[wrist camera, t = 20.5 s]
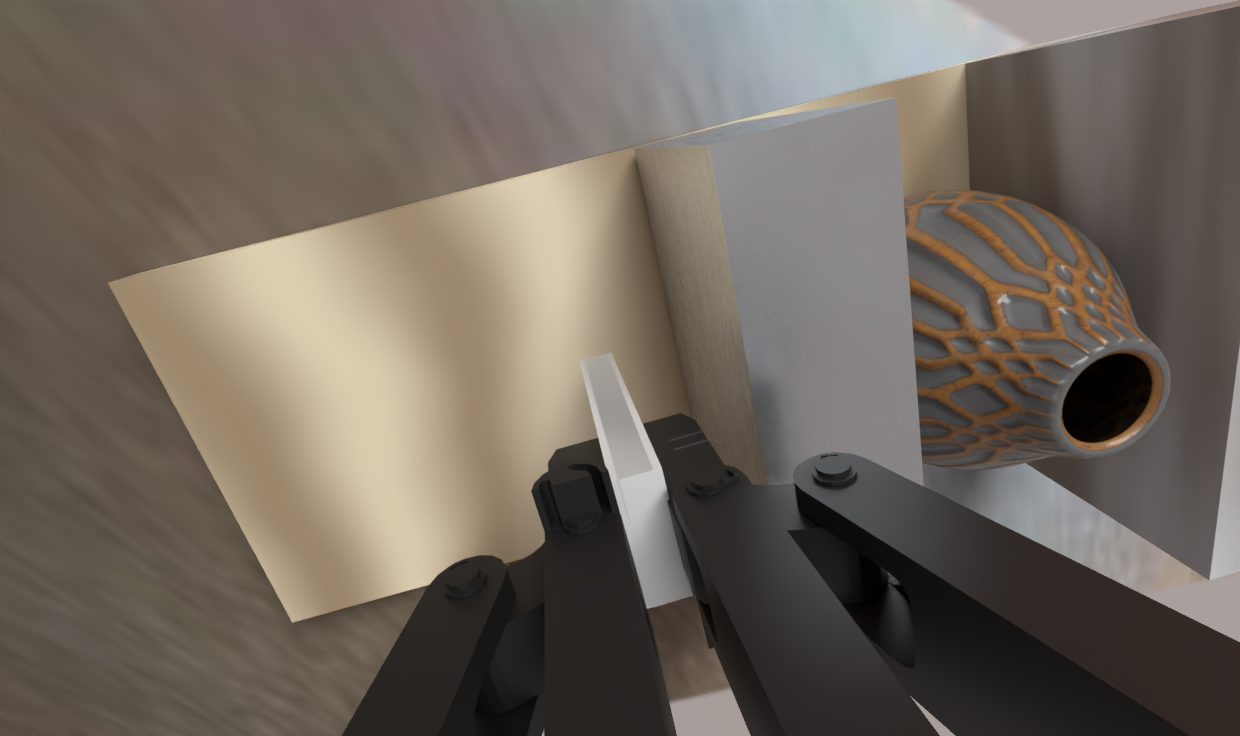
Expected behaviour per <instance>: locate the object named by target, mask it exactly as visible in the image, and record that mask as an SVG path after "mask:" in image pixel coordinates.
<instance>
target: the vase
mask: <svg viewBox="0 0 1240 736" xmlns="http://www.w3.org/2000/svg"><path fill="white" fill-rule="evenodd" d="M903 200H904V214H905V228H906V242H907V256H908V270H909V284H910V298H911V312H912V326H913V341H914V355H915V369H916V383H917V397H918V411H919V425H920V439H921V453H922V463H926V464H930V465H935V466H939V467H945V468H953V469H964V470H981V469H995V468H1001V467H1007V466H1013V465H1018V464H1022V463H1026V462H1031V461H1035V460H1039V459H1043V458H1047V457H1051V456H1061V457H1070V458H1081V459H1095V458H1102V457H1106V456H1110V455H1113V454H1116V453H1118V452H1120V451H1122V450H1124V449H1126V448H1128V447H1129V446H1131V445H1132V444H1134V443H1135V442H1136V441H1138V440H1139V439H1140V438H1141V437H1143V436H1144V435H1145V434H1146V433H1147V432H1148V431H1149V429H1150V428H1151V427H1152V426H1153V425H1154V423H1155V422H1156V421H1157V419H1158V418H1159V416H1160V414H1161V413H1162V411H1163V409H1164V407H1165V404H1166V402H1167V399H1168V396H1169V391H1170V385H1171V375H1170V369H1169V365H1168V362H1167V360H1166V358H1165V356H1164V355H1163V353H1162V352H1161V351H1160V350H1159V348H1158V347H1157V346H1156V345H1155V344H1154V343H1153V342H1152V341H1151V340H1150V339H1149V338H1148V337H1147V336H1146V335H1145V334H1144V333H1143V332H1142V331H1141V330H1140V329H1139V328H1138V326H1137V323H1136V319H1135V316H1134V313H1133V310H1132V307H1131V304H1130V302H1129V299H1128V296H1127V294H1126V291H1125V289H1124V287H1123V284H1122V282H1121V280H1120V278H1119V276H1118V274H1117V272H1116V270H1115V269H1114V267H1113V266H1112V264H1111V263H1110V261H1109V260H1108V259H1107V257H1106V256H1105V255H1104V253H1103V252H1102V251H1101V250H1100V249H1099V248H1098V247H1097V246H1096V245H1095V244H1094V243H1093V242H1092V241H1091V240H1090V239H1089V238H1088V237H1087V236H1086V235H1084V234H1083V233H1082V232H1080V231H1079V230H1078V229H1076V228H1075V227H1073V226H1072V225H1071V224H1069V223H1068V222H1066V221H1064V220H1063V219H1061V218H1059V217H1058V216H1056V215H1054V214H1053V213H1051V212H1049V211H1047V210H1044V209H1042V208H1040V207H1038V206H1036V205H1034V204H1032V203H1029V202H1026V201H1023V200H1020V199H1017V198H1014V197H1010V196H1007V195H1002V194H996V193H990V192H983V191H973V190H938V191H927V192H920V193H915V194H911V195H908V196H904V197H903Z"/></svg>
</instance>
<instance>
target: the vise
mask: <svg viewBox="0 0 1240 736" xmlns="http://www.w3.org/2000/svg"><path fill="white" fill-rule="evenodd" d="M894 97H896V101H897V115H898V129H899V144H900V158H901V172H902V186H903V197H904V196H908V195H911V194H915V193H920V192H927V191H938V190H973V191H983V192H990V193H996V194H1002V195H1007V196H1010V197H1014V198H1017V199H1020V200H1023V201H1026V202H1029V203H1032V204H1034V205H1036V206H1038V207H1040V208H1042V209H1044V210H1047V211H1049V212H1051V213H1053V214H1054V215H1056V216H1058V217H1059V218H1061V219H1063V220H1064V221H1066V222H1068V223H1069V224H1071V225H1072V226H1073V227H1075V228H1076V229H1078V230H1079V231H1080V232H1082V233H1083V234H1084V235H1086V236H1087V237H1088V238H1089V239H1090V240H1091V241H1092V242H1093V243H1094V244H1095V245H1096V246H1097V247H1098V248H1099V249H1100V250H1101V251H1102V252H1103V253H1104V255H1105V256H1106V257H1107V259H1108V260H1109V261H1110V263H1111V264H1112V266H1113V267H1114V269H1115V270H1116V272H1117V274H1118V276H1119V278H1120V280H1121V282H1122V284H1123V287H1124V289H1125V291H1126V294H1127V296H1128V299H1129V302H1130V304H1131V307H1132V310H1133V313H1134V316H1135V319H1136V323H1137V326H1138V328H1139V329H1140V330H1141V331H1142V332H1143V333H1144V334H1145V335H1146V336H1147V337H1148V338H1149V339H1150V340H1151V341H1152V342H1153V343H1154V344H1155V345H1156V346H1157V347H1158V348H1159V350H1160V351H1161V352H1162V353H1163V355H1164V356H1165V358H1166V360H1167V362H1168V365H1169V369H1170V375H1171V385H1170V391H1169V396H1168V399H1167V402H1166V404H1165V407H1164V409H1163V411H1162V413H1161V414H1160V416H1159V418H1158V419H1157V421H1156V422H1155V423H1154V425H1153V426H1152V427H1151V428H1150V429H1149V431H1148V432H1147V433H1146V434H1145V435H1144V436H1143V437H1141V438H1140V439H1139V440H1138V441H1136V442H1135V443H1134V444H1132V445H1131V446H1129V447H1128V448H1126V449H1124V450H1122V451H1120V452H1118V453H1116V454H1113V455H1110V456H1106V457H1102V458H1095V459H1081V458H1070V457H1061V456H1051V457H1047V458H1043V459H1039V460H1035V461H1031V462H1026V463H1027V464H1028V465H1030V466H1031V467H1033V468H1034V469H1036V470H1037V471H1039V472H1041V473H1042V474H1044V475H1045V476H1047V477H1048V478H1050V479H1052V480H1053V481H1055V482H1056V483H1058V484H1059V485H1061V486H1063V487H1064V488H1066V489H1067V490H1069V491H1070V492H1072V493H1074V494H1075V495H1077V496H1078V497H1080V498H1081V499H1083V500H1084V501H1086V502H1088V503H1089V504H1091V505H1092V506H1094V507H1095V508H1097V509H1099V510H1100V511H1102V512H1103V513H1105V514H1106V515H1108V516H1110V517H1111V518H1113V519H1114V520H1116V521H1117V522H1119V523H1121V524H1122V525H1124V526H1125V527H1127V528H1128V529H1130V530H1131V531H1133V532H1135V533H1136V534H1138V535H1139V536H1141V537H1142V538H1144V539H1146V540H1147V541H1149V542H1150V543H1152V544H1153V545H1155V546H1157V547H1158V548H1160V549H1161V550H1163V551H1164V552H1166V553H1168V554H1169V555H1171V556H1172V557H1174V558H1175V559H1177V560H1178V561H1180V562H1182V563H1183V564H1185V565H1186V566H1188V567H1189V568H1191V569H1193V570H1194V571H1196V572H1197V573H1199V574H1200V575H1202V576H1204V577H1205V578H1207V579H1208V580H1212V579H1216V578H1219V577H1223V576H1226V575H1230V574H1233V573H1236V572H1240V0H1238V1H1233V2H1229V3H1224V4H1220V5H1215V6H1210V7H1206V8H1201V9H1197V10H1193V11H1188V12H1183V13H1179V14H1174V15H1169V16H1165V17H1160V18H1156V19H1151V20H1146V21H1142V22H1138V23H1133V24H1128V25H1124V26H1119V27H1115V28H1110V29H1105V30H1101V31H1096V32H1092V33H1087V34H1082V35H1081V34H1080V35H1075V36H1071V37H1066V38H1062V39H1057V40H1053V41H1048V42H1043V43H1039V44H1035V45H1031V46H1027V47H1023V48H1020V49H1016V50H1012V51H1008V52H1004V53H1000V54H996V55H992V56H988V57H984V58H980V59H976V60H972V61H969V62H965V63H961V64H957V65H953V66H949V67H945V68H941V69H937V70H933V71H929V72H925V73H922V74H918V75H914V76H910V77H906V78H902V79H898V80H894V81H890V82H886V83H882V84H878V85H875V86H871V87H867V88H863V89H859V90H855V91H851V92H847V93H843V94H839V95H835V96H831V97H828V98H824V99H820V100H816V101H812V102H808V103H804V104H800V105H796V106H792V107H788V108H784V109H780V110H777V111H773V112H769V113H765V114H761V115H757V116H753V117H749V118H745V119H741V120H737V121H733V122H730V123H726V124H722V125H718V126H714V127H710V128H706V129H702V130H698V131H694V132H690V133H686V134H683V135H679V136H675V137H671V138H667V139H663V140H659V141H655V142H651V143H647V144H643V145H639V146H636V147H632V148H628V149H624V150H620V151H616V152H612V153H608V154H604V155H600V156H596V157H592V158H588V159H585V160H581V161H577V162H573V163H569V164H565V165H561V166H557V167H553V168H549V169H545V170H541V171H538V172H534V173H530V174H526V175H522V176H518V177H514V178H510V179H506V180H502V181H498V182H494V183H491V184H487V185H483V186H479V187H475V188H471V189H467V190H463V191H459V192H455V193H451V194H447V195H444V196H440V197H436V198H432V199H428V200H424V201H420V202H416V203H412V204H408V205H404V206H400V207H396V208H393V209H389V210H385V211H381V212H377V213H373V214H369V215H365V216H361V217H357V218H353V219H349V220H346V221H342V222H338V223H334V224H330V225H326V226H322V227H318V228H314V229H310V230H306V231H302V232H299V233H295V234H291V235H287V236H283V237H279V238H275V239H271V240H267V241H263V242H259V243H255V244H252V245H248V246H244V247H240V248H236V249H232V250H228V251H224V252H220V253H216V254H212V255H208V256H204V257H201V258H197V259H193V260H189V261H185V262H181V263H177V264H173V265H169V266H165V267H161V268H157V269H154V270H150V271H146V272H142V273H138V274H135V275H132V276H128V277H125V278H122V279H118V280H115V281H112V282H108V284H109V286H110V288H111V289H112V291H113V293H114V295H115V297H116V299H117V300H118V302H119V304H120V306H121V308H122V310H123V311H124V313H125V315H126V317H127V319H128V321H129V323H130V324H131V326H132V328H133V330H134V332H135V334H136V335H137V337H138V339H139V341H140V343H141V345H142V346H143V348H144V350H145V352H146V354H147V356H148V358H149V359H150V361H151V363H152V365H153V367H154V369H155V370H156V372H157V374H158V376H159V378H160V380H161V381H162V383H163V385H164V387H165V389H166V391H167V393H168V394H169V396H170V398H171V400H172V402H173V404H174V405H175V407H176V409H177V411H178V413H179V415H180V416H181V418H182V420H183V422H184V424H185V426H186V428H187V429H188V431H189V433H190V435H191V437H192V439H193V440H194V442H195V444H196V446H197V448H198V450H199V451H200V453H201V455H202V457H203V459H204V461H205V462H206V464H207V466H208V468H209V470H210V472H211V474H212V475H213V477H214V479H215V481H216V483H217V485H218V486H219V488H220V490H221V492H222V494H223V496H224V497H225V499H226V501H227V503H228V505H229V507H230V509H231V510H232V512H233V514H234V516H235V518H236V520H237V521H238V523H239V525H240V527H241V529H242V531H243V532H244V534H245V536H246V538H247V540H248V542H249V544H250V545H251V547H252V549H253V551H254V553H255V555H256V556H257V558H258V560H259V562H260V564H261V566H262V567H263V569H264V571H265V573H266V575H267V577H268V579H269V580H270V582H271V584H272V586H273V588H274V590H275V591H276V593H277V595H278V597H279V599H280V601H281V602H282V604H283V606H284V608H285V610H286V612H287V614H288V615H289V617H290V619H291V621H292V623H293V622H296V621H300V620H303V619H307V618H311V617H314V616H318V615H322V614H325V613H329V612H332V611H336V610H340V609H343V608H347V607H350V606H354V605H358V604H361V603H365V602H368V601H372V600H376V599H379V598H383V597H386V596H390V595H394V594H397V593H401V592H404V591H408V590H412V589H415V588H419V587H422V586H426V585H430V584H431V582H432V581H433V580H434V579H435V577H436V576H437V575H438V574H440V573H441V572H442V571H444V570H445V569H446V568H448V567H449V566H450V565H452V564H454V563H456V562H459V561H460V560H463V559H465V558H470V557H474V556H478V555H493V556H495V557H497V558H499V559H501V560H502V561H503V563H504V564H505V563H509V562H513V561H516V560H520V559H523V558H526V557H527V556H529V555H531V554H532V553H533V552H535V551H536V550H537V549H538V548H539V547H541V545H542V544H543V543H544V542H545V532H544V529H543V526H542V523H541V520H540V517H539V514H538V511H537V508H536V505H535V502H534V499H533V496H532V493H531V490H532V488H533V485H534V483H535V482H536V481H537V480H538V479H539V478H540V477H541V476H542V475H543V474H544V473H546V472H548V462H549V460H550V458H551V457H552V455H553V454H554V452H555V451H556V449H560V448H563V447H567V446H570V445H574V444H577V443H581V442H585V441H588V440H592V439H595V438H598V435H597V430H596V426H595V422H594V418H593V414H592V410H591V406H590V402H589V398H588V394H587V390H586V386H585V382H584V378H583V374H582V370H581V366H580V362H579V361H582V360H585V359H589V358H593V357H596V356H600V355H604V354H608V353H612V356H613V358H614V360H615V362H616V365H617V367H618V369H619V372H620V374H621V376H622V378H623V381H624V383H625V385H626V387H627V390H628V392H629V394H630V397H631V399H632V401H633V403H634V406H635V408H636V410H637V413H638V415H639V417H640V419H641V422H642V424H643V423H647V422H650V421H654V420H658V419H661V418H665V417H668V416H672V415H675V414H679V413H681V414H684V415H686V416H688V417H690V418H692V414H691V410H690V405H689V401H688V396H687V391H686V387H685V382H684V377H683V373H682V368H681V364H680V359H679V354H678V350H677V345H676V340H675V336H674V331H673V327H672V322H671V317H670V313H669V308H668V303H667V299H666V294H665V290H664V285H663V280H662V276H661V271H660V266H659V262H658V257H657V253H656V248H655V243H654V239H653V234H652V229H651V225H650V220H649V215H648V211H647V206H646V202H645V197H644V192H643V188H642V183H641V178H640V174H639V169H638V165H637V160H636V155H635V151H634V149H635V148H639V147H642V146H646V145H650V144H654V143H658V142H662V141H666V140H670V139H674V138H678V137H682V136H686V135H689V134H693V133H697V132H701V131H705V130H709V129H713V128H717V127H721V126H725V125H729V124H733V123H736V122H741V121H748V120H754V119H760V118H767V117H773V116H779V115H786V114H792V113H798V112H805V111H811V110H817V109H824V108H830V107H836V106H843V105H849V104H856V103H862V102H868V101H875V100H881V99H887V98H894Z"/></svg>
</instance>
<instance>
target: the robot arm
mask: <svg viewBox="0 0 1240 736" xmlns="http://www.w3.org/2000/svg"><path fill="white" fill-rule="evenodd" d="M579 362H580V366H581V370H582V374H583V378H584V382H585V386H586V390H587V394H588V398H589V402H590V406H591V410H592V414H593V418H594V422H595V426H596V430H597V435H598V438H595V439H592V440H588V441H585V442H581V443H577V444H574V445H570V446H567V447H563V448H560V449H556V451H555V452H554V454H553V455H552V457H551V458H550V460H549V462H548V472H546V473H544V474H543V475H542V476H541V477H540V478H539V479H538V480H537V481H536V482H535V483H534V485H533V488H532V490H531V493H532V496H533V499H534V502H535V505H536V508H537V511H538V514H539V517H540V520H541V523H542V526H543V529H544V532H545V542H544V543H543V544H542V545H541V547H539V548H538V549H537V550H536V551H535V552H533V553H532V554H531V555H529V556H527V557H526V558H524V559H522V560H521V561H519V562H517V563H515V564H513V565H511V566H509V567H507V568H506V566H505V565H504V563H503V561H502V560H501V559H499V558H497V557H495V556H493V555H478V556H474V557H470V558H465V559H463V560H460V561H459V562H456V563H454V564H452V565H450V566H449V567H448V568H446V569H445V570H444V571H442V572H441V573H440V574H438V575H437V576H436V577H435V579H434V580H433V581H432V582H431V584H430V585H429V586H428V587H427V589H426V591H425V593H424V594H423V596H422V598H421V600H420V601H419V603H418V605H417V606H416V608H415V610H414V612H413V613H412V615H411V617H410V619H409V620H408V622H407V624H406V625H405V627H404V629H403V631H402V632H401V634H400V636H399V638H398V639H397V641H396V643H395V645H394V646H393V648H392V650H391V651H390V653H389V655H388V657H387V658H386V660H385V662H384V664H383V665H382V667H381V669H380V670H379V672H378V674H377V676H376V677H375V679H374V681H373V683H372V684H371V686H370V688H369V690H368V691H367V693H366V695H365V696H364V698H363V700H362V702H361V703H360V705H359V707H358V709H357V710H356V712H355V714H354V716H353V717H352V719H351V721H350V722H349V724H348V726H347V728H346V729H345V731H344V733H343V735H342V736H542V732H543V728H544V724H545V736H677V735H676V730H675V726H674V721H673V717H672V713H671V708H670V704H669V699H668V695H667V691H666V686H665V682H664V677H663V673H662V669H661V664H660V660H659V655H658V651H657V647H656V642H655V638H654V633H653V629H652V626H651V622H650V618H649V615H648V611H647V609H649V608H652V607H653V608H654V607H657V606H661V605H664V604H667V603H671V602H674V601H677V600H681V599H684V598H687V597H691V596H693V594H692V590H693V593H694V594H695V596H696V597H697V601H698V605H699V609H700V613H701V618H702V622H703V626H704V630H705V634H706V638H707V642H708V647H709V649H710V648H713V647H714V648H715V650H716V653H717V655H718V658H719V660H720V662H721V665H722V667H723V670H724V672H725V675H726V677H727V679H728V682H729V684H730V687H731V689H732V691H733V693H734V696H735V699H736V701H737V704H738V706H739V708H740V711H741V713H742V716H743V718H744V720H745V723H746V725H747V728H748V730H749V732H750V735H751V736H940V735H939V734H938V733H937V731H936V730H935V729H934V727H933V726H932V725H931V723H930V722H929V721H928V719H927V718H926V717H925V715H924V714H923V713H922V711H921V710H920V709H919V707H918V706H917V705H916V703H915V702H914V701H913V699H912V698H914V699H915V700H916V701H917V702H918V703H919V704H920V705H922V706H923V707H924V708H925V709H926V710H927V711H928V712H929V713H931V714H932V715H933V716H934V717H935V718H936V719H938V720H939V721H940V722H941V723H942V724H943V725H944V726H945V727H947V728H948V729H949V730H950V731H951V732H952V733H953V734H954V735H956V736H1240V642H1238V641H1236V640H1234V639H1232V638H1230V637H1227V636H1226V635H1224V634H1222V633H1219V632H1218V631H1215V630H1213V629H1211V628H1209V627H1207V626H1205V625H1203V624H1201V623H1199V622H1197V621H1195V620H1193V619H1191V618H1189V617H1187V616H1185V615H1183V614H1181V613H1179V612H1177V611H1175V610H1173V609H1171V608H1168V607H1167V606H1165V605H1163V604H1161V603H1159V602H1157V601H1154V600H1153V599H1151V598H1148V597H1147V596H1144V595H1142V594H1140V593H1138V592H1136V591H1134V590H1132V589H1130V588H1128V587H1126V586H1124V585H1122V584H1120V583H1118V582H1116V581H1114V580H1112V579H1110V578H1108V577H1106V576H1104V575H1102V574H1100V573H1098V572H1096V571H1094V570H1092V569H1090V568H1088V567H1086V566H1084V565H1082V564H1080V563H1078V562H1075V561H1073V560H1071V559H1069V558H1067V557H1065V556H1063V555H1061V554H1059V553H1057V552H1055V551H1053V550H1051V549H1049V548H1047V547H1045V546H1043V545H1041V544H1039V543H1037V542H1035V541H1033V540H1031V539H1029V538H1027V537H1025V536H1023V535H1021V534H1019V533H1017V532H1015V531H1013V530H1011V529H1009V528H1006V527H1004V526H1002V525H1000V524H998V523H996V522H994V521H992V520H990V519H988V518H986V517H984V516H982V515H980V514H978V513H976V512H974V511H972V510H970V509H968V508H966V507H964V506H962V505H960V504H958V503H956V502H954V501H952V500H950V499H948V498H946V497H944V496H942V495H940V494H937V493H935V492H933V491H931V490H929V489H927V488H925V487H923V486H921V485H919V484H917V483H915V482H913V481H911V480H909V479H907V478H905V477H903V476H901V475H899V474H897V473H895V472H893V471H891V470H889V469H887V468H885V467H883V466H881V465H879V464H877V463H875V462H873V461H871V460H868V459H866V458H864V457H861V456H858V455H855V454H850V453H839V452H830V453H824V454H819V455H817V456H814V457H811V458H808V459H806V460H805V461H803V462H802V463H800V464H799V465H797V467H796V469H795V470H794V472H793V480H794V483H792V484H781V485H755V484H752V483H751V482H750V480H749V479H748V478H747V476H746V475H745V474H744V473H743V472H741V471H740V470H739V469H738V468H735V467H731V466H728V465H724V463H723V462H722V460H721V459H720V457H719V456H718V454H717V453H716V451H715V449H714V448H713V446H712V445H711V443H710V442H709V441H708V439H707V437H706V436H705V434H704V433H703V432H702V429H701V428H700V426H699V425H698V423H697V422H696V420H695V419H693V418H690V417H688V416H686V415H684V414H681V413H679V414H675V415H672V416H668V417H665V418H661V419H658V420H654V421H650V422H647V423H643V424H642V422H641V419H640V417H639V415H638V413H637V410H636V408H635V406H634V403H633V401H632V399H631V397H630V394H629V392H628V390H627V387H626V385H625V383H624V381H623V378H622V376H621V374H620V372H619V369H618V367H617V365H616V362H615V360H614V358H613V356H612V353H608V354H604V355H600V356H596V357H593V358H589V359H585V360H582V361H579ZM690 585H691V586H690ZM691 588H692V590H691ZM910 696H911V697H912V698H911V697H910Z"/></svg>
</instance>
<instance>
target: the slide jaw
mask: <svg viewBox="0 0 1240 736" xmlns="http://www.w3.org/2000/svg"><path fill="white" fill-rule="evenodd" d="M634 151H635V155H636V160H637V165H638V169H639V174H640V178H641V183H642V188H643V192H644V197H645V202H646V206H647V211H648V215H649V220H650V225H651V229H652V234H653V239H654V243H655V248H656V253H657V257H658V262H659V266H660V271H661V276H662V280H663V285H664V290H665V294H666V299H667V303H668V308H669V313H670V317H671V322H672V327H673V331H674V336H675V340H676V345H677V350H678V354H679V359H680V364H681V368H682V373H683V377H684V382H685V387H686V391H687V396H688V401H689V405H690V410H691V414H692V418H693V419H695V420H696V422H697V423H698V425H699V426H700V428H701V429H702V432H703V433H704V434H705V436H706V437H707V439H708V441H709V442H710V443H711V445H712V446H713V448H714V449H715V451H716V453H717V454H718V456H719V457H720V459H721V460H722V462H723V463H724V465H728V466H731V467H735V468H738V469H739V470H740V471H741V472H743V473H744V474H745V475H746V476H747V478H748V479H749V480H750V482H751V483H752V484H755V485H781V484H792V483H794V480H793V472H794V470H795V469H796V467H797V465H799V464H800V463H802V462H803V461H805V460H806V459H808V458H811V457H814V456H817V455H819V454H824V453H830V452H839V453H850V454H855V455H858V456H861V457H864V458H866V459H868V460H871V461H873V462H875V463H877V464H879V465H881V466H883V467H885V468H887V469H889V470H891V471H893V472H895V473H897V474H899V475H901V476H903V477H905V478H907V479H909V480H911V481H913V482H915V483H917V484H919V485H921V486H923V487H924V481H923V467H922V453H921V439H920V425H919V411H918V397H917V383H916V369H915V355H914V341H913V326H912V312H911V298H910V284H909V270H908V256H907V242H906V228H905V214H904V200H903V186H902V172H901V158H900V144H899V129H898V115H897V101H896V97H894V98H887V99H881V100H875V101H868V102H862V103H856V104H849V105H843V106H836V107H830V108H824V109H817V110H811V111H805V112H798V113H792V114H786V115H779V116H773V117H767V118H760V119H754V120H748V121H741V122H736V123H733V124H729V125H725V126H721V127H717V128H713V129H709V130H705V131H701V132H697V133H693V134H689V135H686V136H682V137H678V138H674V139H670V140H666V141H662V142H658V143H654V144H650V145H646V146H642V147H639V148H635V149H634Z"/></svg>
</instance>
